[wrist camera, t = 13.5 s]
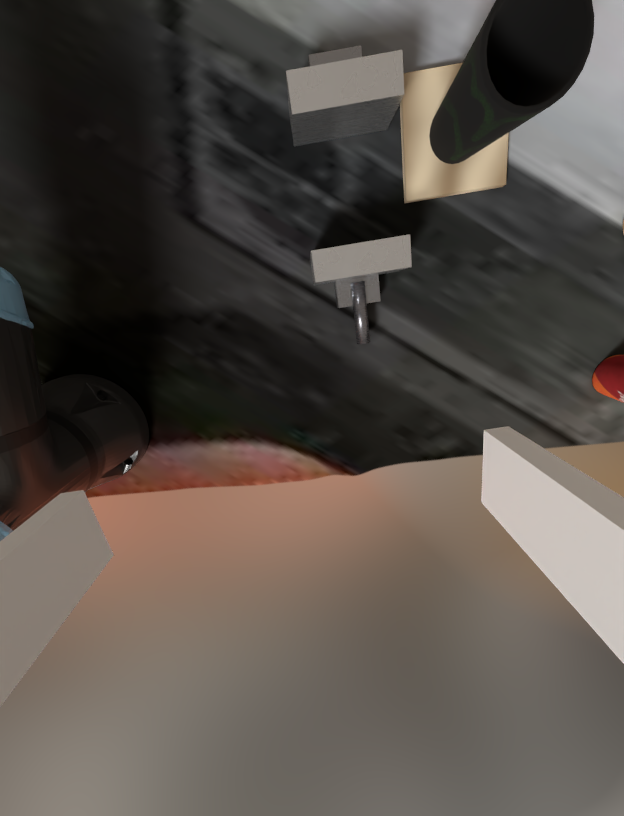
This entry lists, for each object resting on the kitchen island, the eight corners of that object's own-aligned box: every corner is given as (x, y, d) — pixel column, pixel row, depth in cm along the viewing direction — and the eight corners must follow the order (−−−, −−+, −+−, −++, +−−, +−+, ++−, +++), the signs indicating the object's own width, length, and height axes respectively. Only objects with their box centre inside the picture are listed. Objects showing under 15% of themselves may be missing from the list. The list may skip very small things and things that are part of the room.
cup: (408, 112, 32) (466, 7, 20) (479, 67, 31) (582, -69, 19) (434, 190, 34) (500, 135, 23) (501, 151, 33) (605, 72, 22)
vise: (322, 346, 40) (325, 354, 34) (284, 74, 31) (279, 23, 25) (398, 334, 40) (414, 340, 34) (382, 56, 31) (400, 1, 25)
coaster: (404, 203, 35) (406, 201, 34) (398, 79, 31) (401, 73, 31) (501, 186, 35) (505, 184, 34) (507, 59, 31) (512, 53, 30)
